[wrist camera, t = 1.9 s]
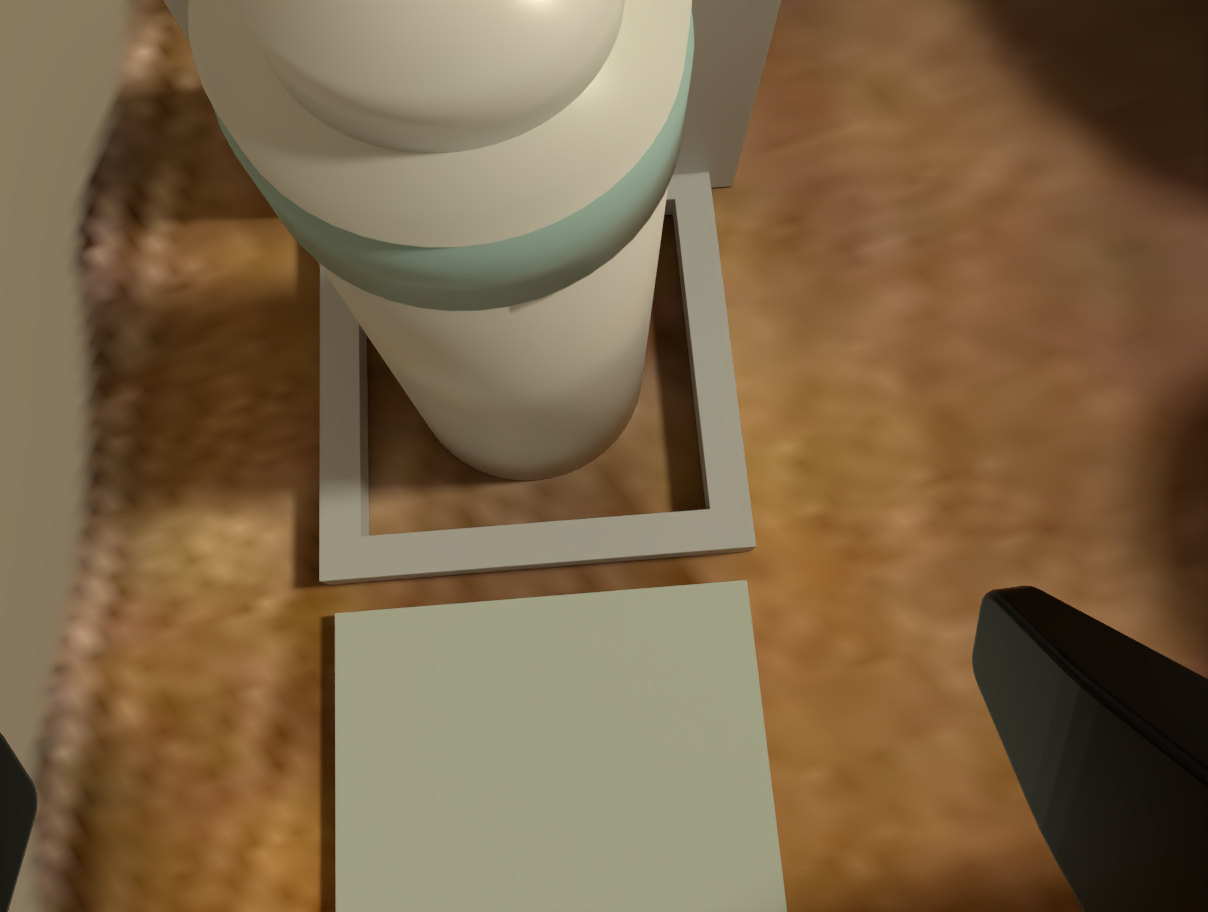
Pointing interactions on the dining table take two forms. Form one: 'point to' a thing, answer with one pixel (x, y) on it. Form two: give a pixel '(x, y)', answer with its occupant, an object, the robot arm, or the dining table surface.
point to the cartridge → (471, 193)
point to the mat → (555, 756)
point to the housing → (706, 159)
